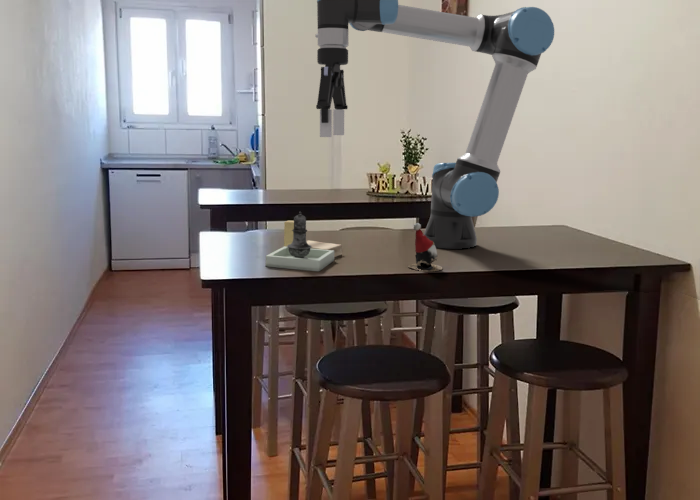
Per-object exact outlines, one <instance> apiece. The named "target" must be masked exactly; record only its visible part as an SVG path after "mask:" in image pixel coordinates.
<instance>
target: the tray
mask: <svg viewBox="0 0 700 500" xmlns="http://www.w3.org/2000/svg"><path fill="white" fill-rule="evenodd" d="M306 258H308V259H306ZM334 261H335V257H334V250H322V249H310V252H309V254H308V255H307V256H305V258H294V256H292V255H291V254H290V253H289V250H288V247H286V246H284V245H283V246H281V248H278V249H277V250H274V251H273V252H271V253H269V254H267V255H265V267H266V268H267V267H268V268H277V269H279V268H280V269H290V270H299V271H300V270H301V271H309V272H310V271H312V272H320V271H321V270H323V269H324V268H326V267H327V266H328V265H330V264H332V263H333V262H334Z"/></svg>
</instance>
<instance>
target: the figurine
mask: <svg viewBox="0 0 700 500" xmlns="http://www.w3.org/2000/svg"><path fill="white" fill-rule="evenodd" d="M421 228H422V224H420V223H419V222H417V223H415V224H413V230H415V238H414V239H415V240H414V247H415V248H414V249H415V250H414V251H415V255H414V256H415V263H413V264H408V266H407V268H408V267H412V268H414V269H415V267H417V268H418V269H421V270H423V271H421V270H419V271H418V272H422V273H423V272H425V273H426V272H427V273H428V272H437V271H441V270H443V266H441V265H438V264H432V263H434V262H436V261H437V259H438V255H439V254H438V251H437V247H435V245H434V242H433V241H430V240H429V239H428V238H427V237H426V236H425V235H424V233H423V231H422V229H421ZM421 265H422V266H421ZM424 266H426V267H424ZM417 268H416V269H417Z"/></svg>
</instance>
